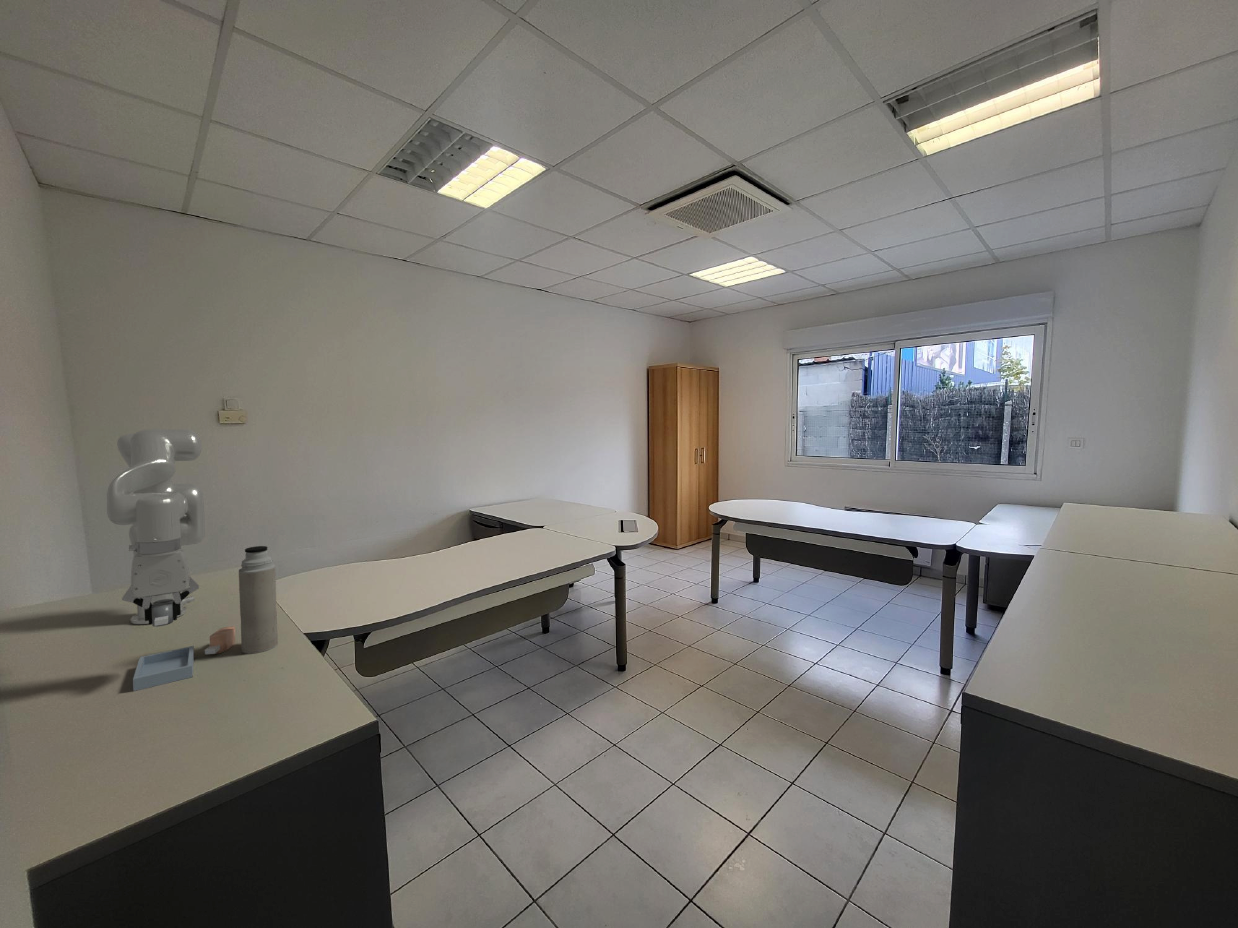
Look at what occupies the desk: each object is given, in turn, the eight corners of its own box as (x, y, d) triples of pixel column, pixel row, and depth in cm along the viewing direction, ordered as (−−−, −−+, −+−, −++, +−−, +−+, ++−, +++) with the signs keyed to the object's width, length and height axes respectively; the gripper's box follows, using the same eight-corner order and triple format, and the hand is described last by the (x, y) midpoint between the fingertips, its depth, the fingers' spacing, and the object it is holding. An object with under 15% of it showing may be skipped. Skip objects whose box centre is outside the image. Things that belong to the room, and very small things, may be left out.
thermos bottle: (267, 638, 136) (263, 542, 134) (284, 644, 132) (280, 545, 131) (235, 649, 129) (231, 548, 127) (252, 656, 125) (248, 552, 123)
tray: (140, 667, 118) (140, 656, 118) (194, 655, 125) (193, 645, 125) (133, 691, 108) (132, 679, 108) (192, 676, 114) (191, 665, 114)
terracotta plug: (223, 642, 133) (222, 626, 133) (238, 640, 134) (237, 625, 134) (202, 658, 124) (201, 642, 123) (218, 656, 125) (217, 640, 124)
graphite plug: (154, 618, 117) (153, 600, 117) (174, 614, 120) (173, 597, 119) (150, 630, 110) (149, 612, 109) (171, 626, 112) (171, 608, 112)
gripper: (107, 555, 106) (111, 634, 107) (205, 544, 117) (208, 617, 118) (112, 549, 112) (116, 624, 113) (205, 539, 123) (208, 608, 124)
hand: (163, 619), depth 116 cm, fingers closed on graphite plug, 3 cm apart
